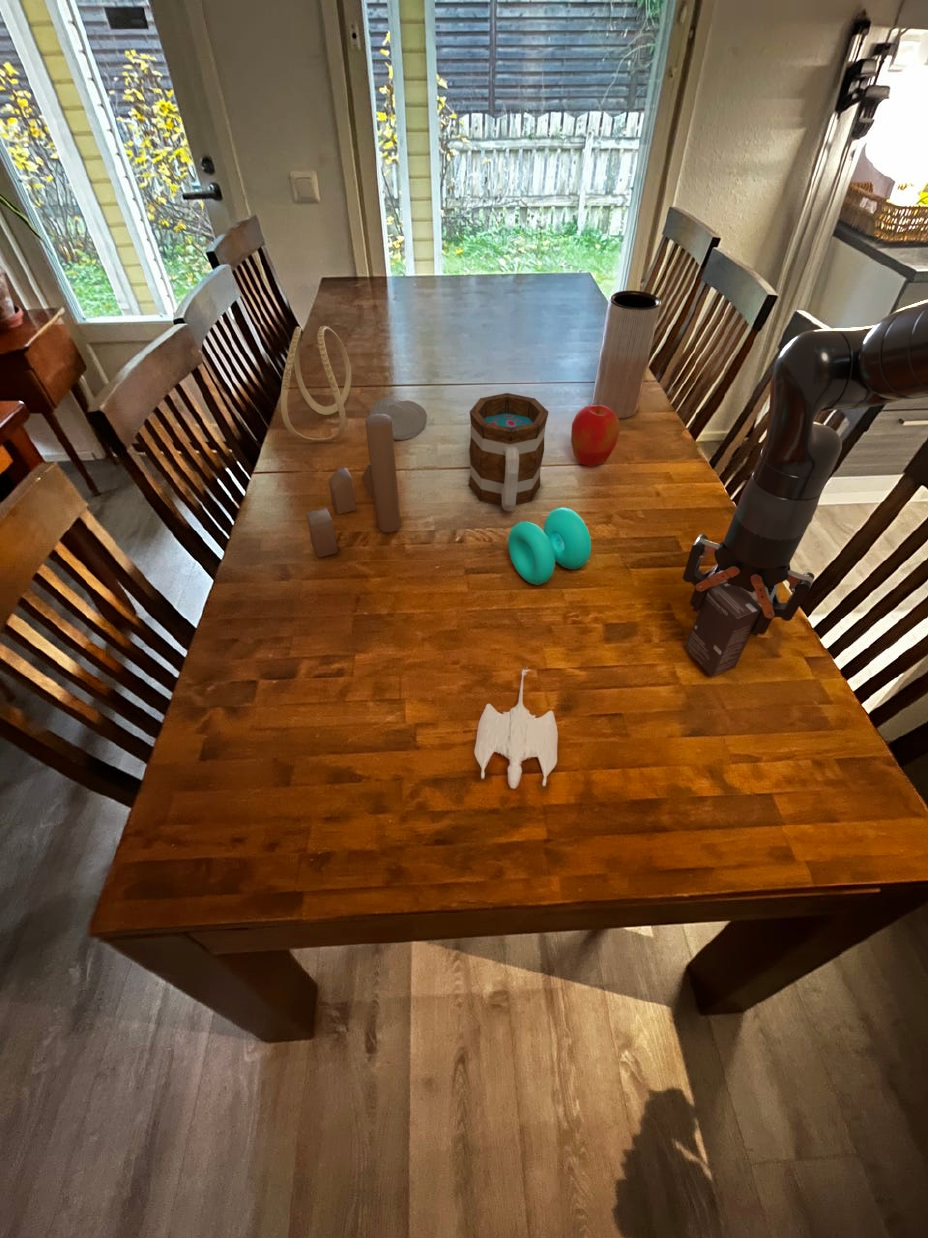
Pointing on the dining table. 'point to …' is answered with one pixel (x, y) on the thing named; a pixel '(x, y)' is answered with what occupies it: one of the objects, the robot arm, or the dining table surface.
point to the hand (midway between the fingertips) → (726, 619)
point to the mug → (506, 449)
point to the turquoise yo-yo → (549, 545)
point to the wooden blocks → (376, 479)
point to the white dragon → (517, 738)
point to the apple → (594, 434)
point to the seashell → (402, 416)
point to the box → (722, 627)
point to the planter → (625, 350)
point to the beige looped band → (294, 355)
